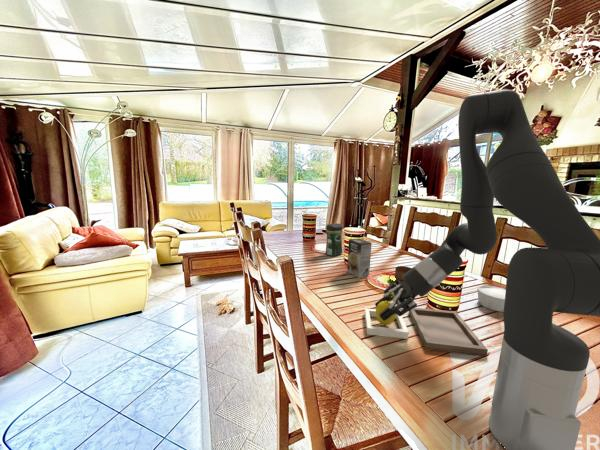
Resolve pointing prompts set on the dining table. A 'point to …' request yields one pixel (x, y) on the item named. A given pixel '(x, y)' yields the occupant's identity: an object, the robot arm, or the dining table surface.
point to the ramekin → (492, 297)
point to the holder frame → (382, 330)
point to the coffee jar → (334, 239)
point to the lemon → (381, 308)
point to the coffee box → (359, 257)
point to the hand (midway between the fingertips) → (379, 312)
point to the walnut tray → (446, 332)
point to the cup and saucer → (400, 273)
